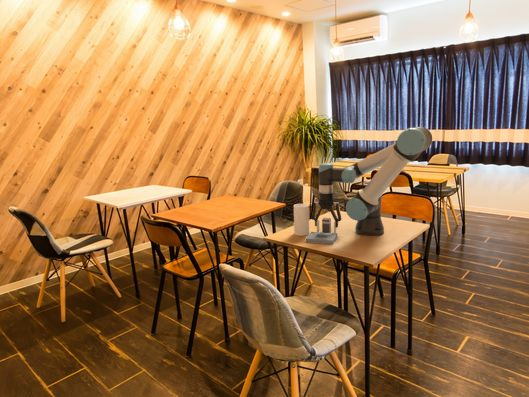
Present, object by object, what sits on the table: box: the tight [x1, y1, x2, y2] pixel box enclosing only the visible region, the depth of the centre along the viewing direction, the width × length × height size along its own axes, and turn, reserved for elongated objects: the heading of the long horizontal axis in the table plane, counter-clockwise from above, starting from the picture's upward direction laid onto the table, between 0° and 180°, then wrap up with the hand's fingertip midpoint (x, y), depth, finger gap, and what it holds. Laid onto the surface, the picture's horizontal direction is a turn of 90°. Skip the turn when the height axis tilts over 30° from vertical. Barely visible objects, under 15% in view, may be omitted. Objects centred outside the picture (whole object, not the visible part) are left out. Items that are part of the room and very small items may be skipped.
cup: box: [293, 203, 310, 237], centre depth 214 cm, size 8×8×16 cm
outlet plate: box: [305, 231, 338, 245], centre depth 204 cm, size 14×12×2 cm
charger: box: [321, 217, 332, 233], centre depth 214 cm, size 4×4×8 cm
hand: (326, 232), depth 215 cm, fingers open, 9 cm apart
